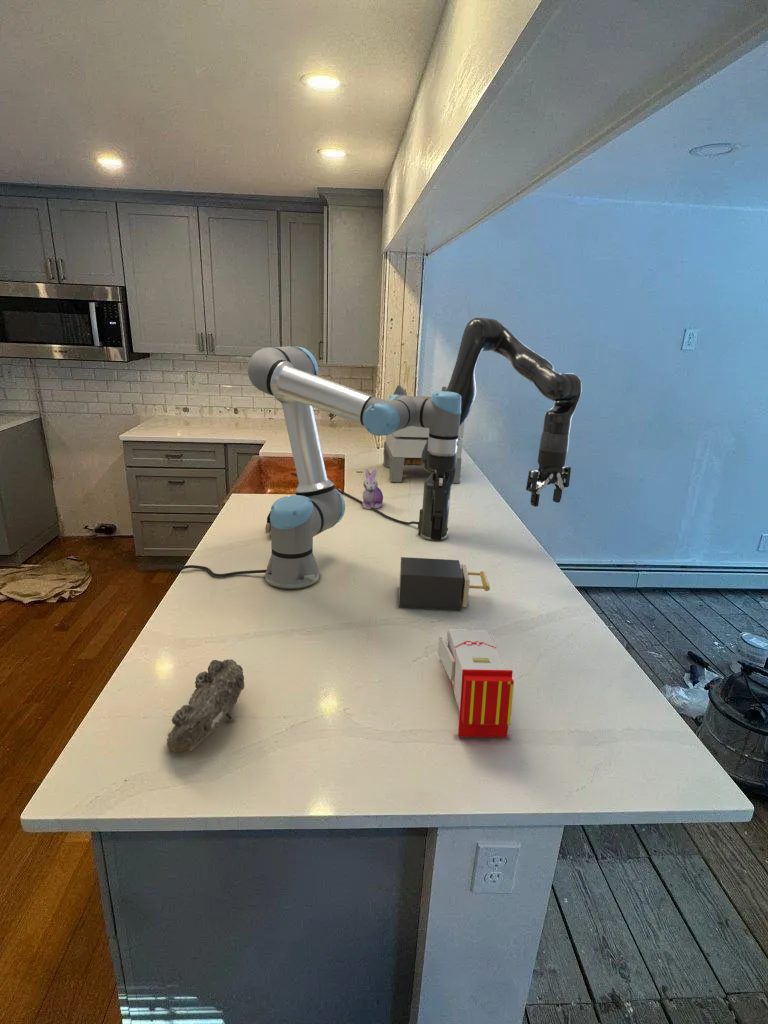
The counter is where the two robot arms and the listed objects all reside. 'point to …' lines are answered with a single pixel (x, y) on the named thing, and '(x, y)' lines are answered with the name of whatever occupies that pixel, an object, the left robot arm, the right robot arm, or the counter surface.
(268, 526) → the figurine character
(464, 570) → the drawer
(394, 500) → the counter surface
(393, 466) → the transformer
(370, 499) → the figurine
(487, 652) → the toy
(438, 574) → the cabinet
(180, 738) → the fossil
